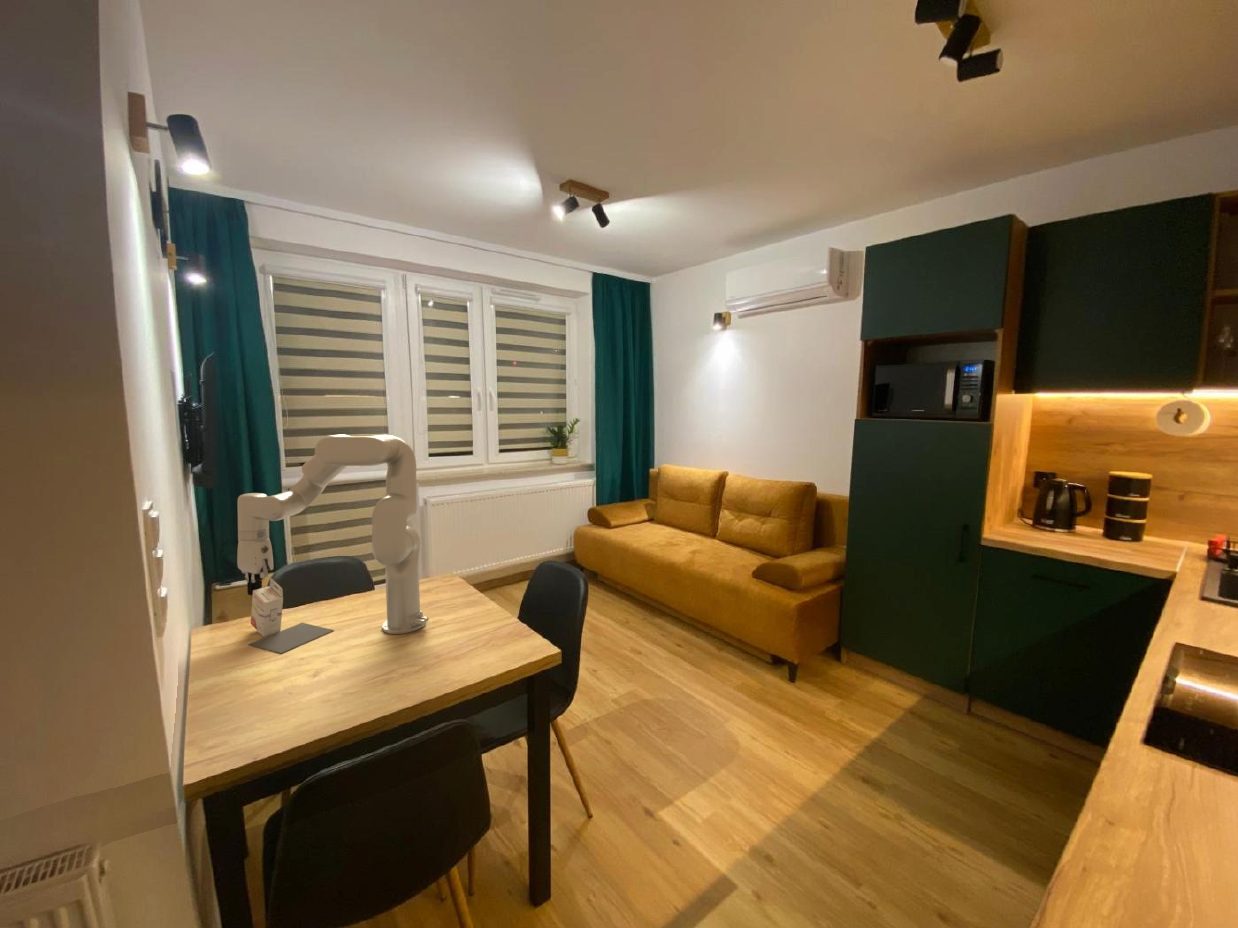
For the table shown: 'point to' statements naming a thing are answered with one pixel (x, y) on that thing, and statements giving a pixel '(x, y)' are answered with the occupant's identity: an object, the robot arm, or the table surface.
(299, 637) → the mat
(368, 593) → the table surface
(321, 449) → the robot arm
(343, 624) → the table surface
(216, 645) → the table surface
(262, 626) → the ink cartridge box
